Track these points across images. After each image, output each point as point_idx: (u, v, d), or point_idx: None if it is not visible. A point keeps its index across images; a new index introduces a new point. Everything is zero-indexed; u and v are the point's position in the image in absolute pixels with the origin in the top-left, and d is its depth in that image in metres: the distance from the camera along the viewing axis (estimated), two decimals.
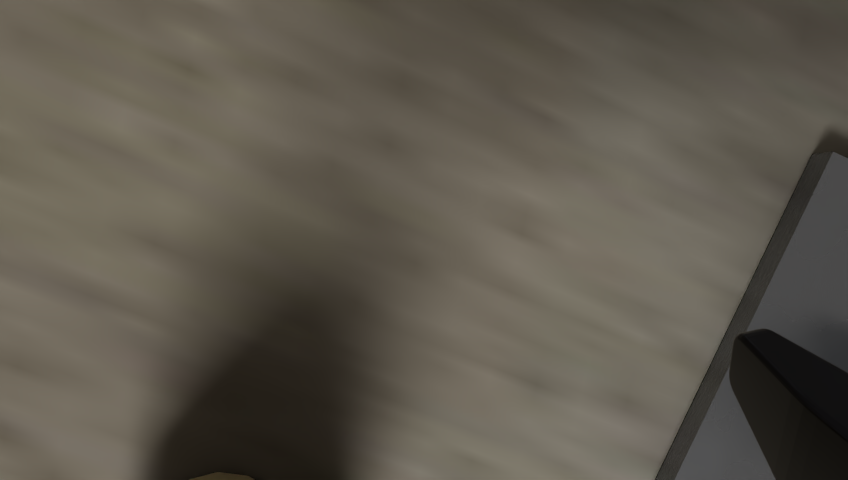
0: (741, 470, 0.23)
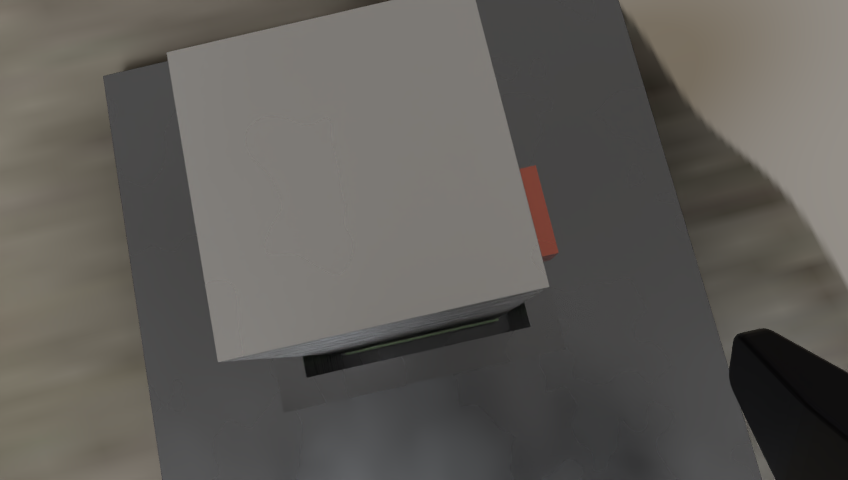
0: (228, 437, 0.18)
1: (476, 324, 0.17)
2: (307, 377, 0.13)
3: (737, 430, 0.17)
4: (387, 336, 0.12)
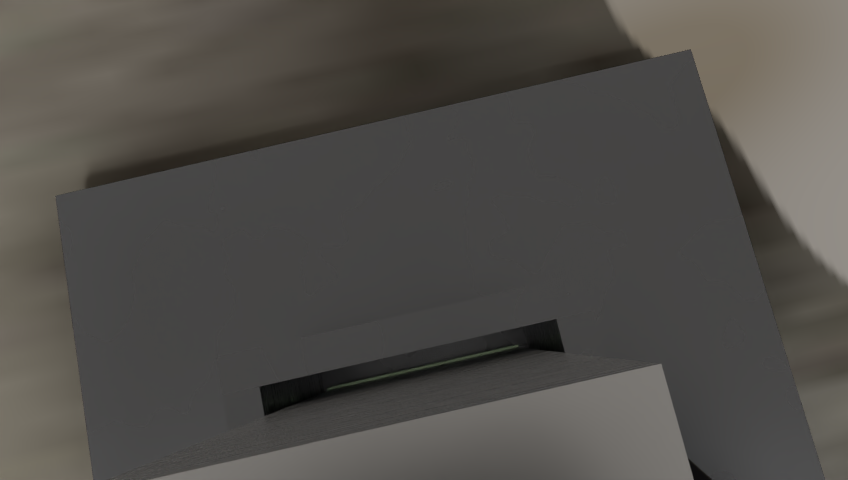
0: None
1: None
2: None
3: None
4: None
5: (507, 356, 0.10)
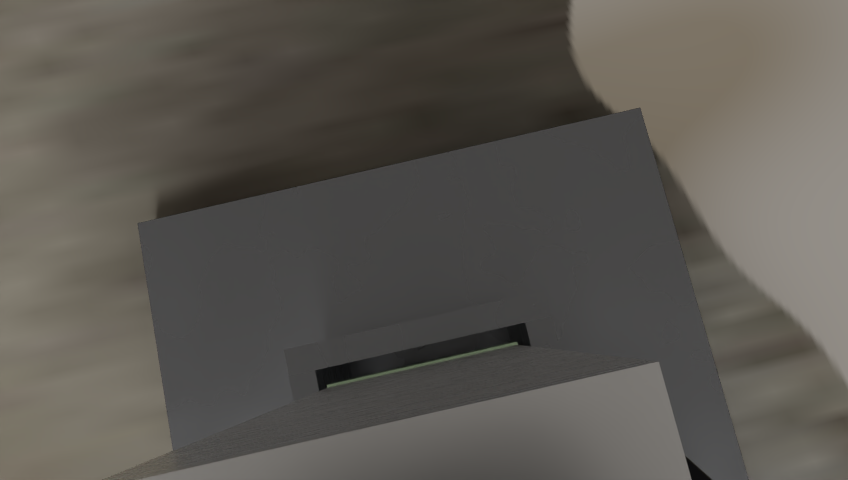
0: None
1: None
2: None
3: None
4: None
5: (506, 353, 0.10)
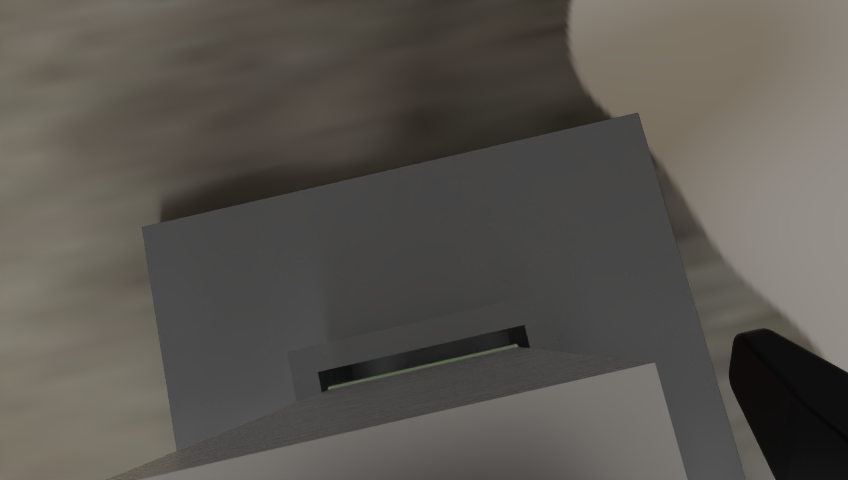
0: None
1: None
2: None
3: None
4: None
5: (506, 355, 0.10)
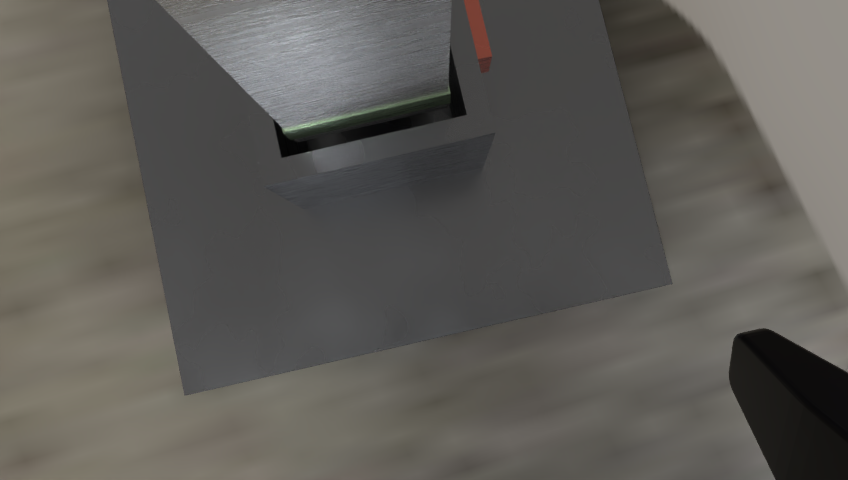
0: (218, 245, 0.21)
1: (426, 98, 0.15)
2: (282, 158, 0.16)
3: (652, 234, 0.21)
4: (303, 26, 0.10)
5: None
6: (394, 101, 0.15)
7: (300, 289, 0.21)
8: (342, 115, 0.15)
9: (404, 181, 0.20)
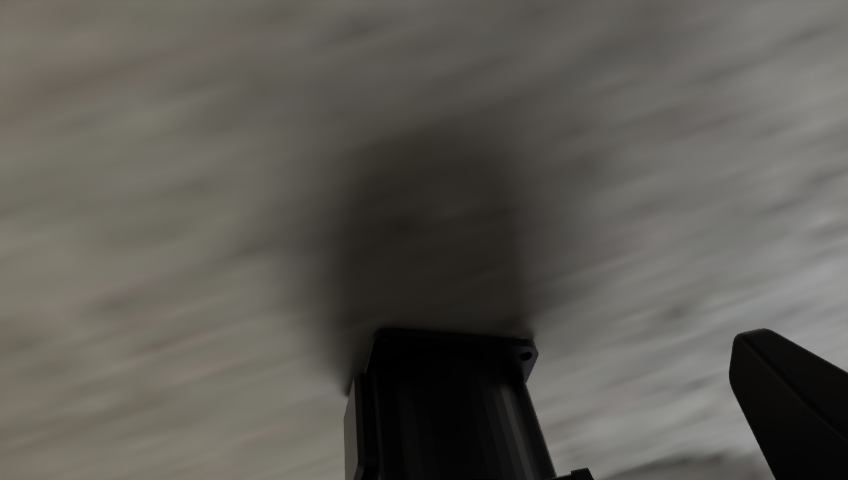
0: None
1: None
2: None
3: None
4: None
5: None
6: None
7: None
8: None
9: None
